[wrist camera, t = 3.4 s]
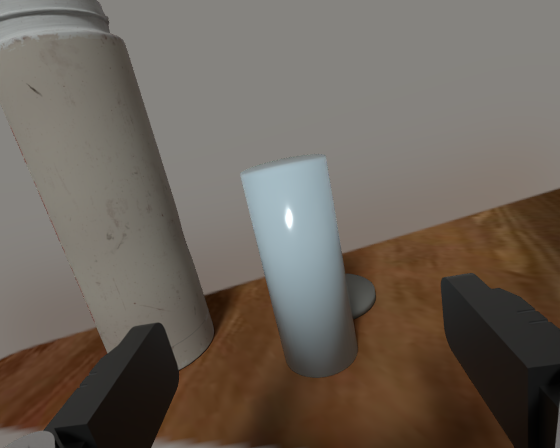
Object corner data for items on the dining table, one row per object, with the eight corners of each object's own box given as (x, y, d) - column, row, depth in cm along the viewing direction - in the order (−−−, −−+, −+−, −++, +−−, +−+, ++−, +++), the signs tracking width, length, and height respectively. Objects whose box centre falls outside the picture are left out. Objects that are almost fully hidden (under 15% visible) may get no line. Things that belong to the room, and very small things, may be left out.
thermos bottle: (95, 391, 25) (-119, -74, 17) (138, 326, 33) (6, -16, 24) (203, 372, 24) (38, -117, 16) (221, 310, 32) (115, -44, 24)
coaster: (366, 274, 33) (366, 268, 33) (384, 316, 26) (383, 309, 26) (293, 286, 34) (292, 280, 33) (292, 330, 27) (291, 323, 27)
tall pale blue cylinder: (351, 323, 26) (322, 150, 22) (364, 371, 21) (329, 162, 17) (286, 333, 27) (246, 166, 23) (283, 382, 22) (233, 181, 18)
